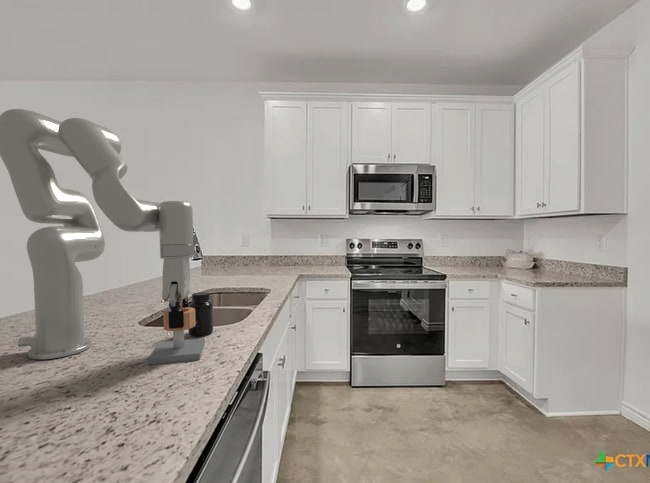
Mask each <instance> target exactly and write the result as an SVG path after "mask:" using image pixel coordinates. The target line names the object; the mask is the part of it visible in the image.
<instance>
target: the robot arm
mask: <svg viewBox="0 0 650 483" xmlns="http://www.w3.org/2000/svg"><path fill="white" fill-rule="evenodd" d="M119 138H120V137H119V136H118V135H117V134H116V133H115V132H114V131H113V130H111V129H108V128H107V127H105V126H102V125H100V124H97V123H95V122H94V121H93V122H92V121H90V120H88V119H85V118H81V117H70V118H67V119H65V120H63V121H60V120H57V119H55V118H52V117H50V116H47V115H44V114H41V113H39V112H36V111H32V110H27V109H23V108H12V109H7V110H5V111H3V112H2V113H0V158H1V160H2V162H3V164H4V166H5V168H6V169H7V171H8V174H9V176H10V181H11V183H12V186H13V188H14V193H15V195H16V198H17V200H18V204H19V205H20V209H21V211H22V213H23V215H24V216H25V218H26V219H27V220H29V221H31V222H32V223H38V224H50V225H51V224H54V225H55V224H56V225H59V224H60V226H47V227H41V228H39V229H37V230H34V232H33V233H31V234H30V235H29V237H28V238H27V242H26V250H27V255H28V256H27V257H28V259H29V262H30V265H31V272H32V277H33V292H34V294H33V295H34V319H35V321H34V322H35V324H34V325H35V335H33V336H29V335H28V336H20V337H19V338H18V343H17V345H18V347H19V348H20V347H29V348H30V349H29V350H28V352H27V357H28V358H29V359H32V360H50V359H58V358H63V357H64V358H65V357H68V356H72V355H76V354H78V353H81V352H84V351H86V350H88V349H90V348H91V346H92V343H93V342H92V341H93V340H92V339H91V338H87V337H85V321H84V320H85V319H84V318H85V316H84V288H83V277H82V274H81V272H80V270H79V268H78V266H77V265H76V263H81V262H89V261H93V260H96V259H98V258H99V257H101V255H102V254H104V251H105V246H106V243H105V237H104V233H103V231H102V227H101V225H100V222H99V219H98V216H97V213H96V211H95V208H94V206H93V203H92V201H91V200H90V199H89V198H88V196H86V195H85V194H84V193H83V192H81V191H78V190H74V189H69V188H64V187H61V185H60V184H59V183H58V179H57V177H56V175H55V171H54V169H53V167H52V165H51V164H50V163H49V161H48V160H47V159H46V158H45V157H44V156H43V155H42V153H41V152H40V151H39V150H41V151H45V152H50V153H53V154H56V155H57V154H58V155H61V156H65V157H73V158H74V159H75V160H76V161H77V162H78V164H79V165H80V166H81V168H82V169H83V170H84V171H85V172H86V173H87V175H88V176H89V178H90V179H91V180H92V182H91V189H92V195H93V199H94V202H95V203H96V205H97V207H99V209H100V210H101V211H102V213H103V214H104V216H106V218H108V220H109V221H110V222H111V223H112V224H113V225H114V226H115V227H117V228H118V229H119V230H122V231H125V232H129V233H130V232H131V233H135V232H136V233H137V232H138V233H139V232H143V233H145V232H147V233H148V232H149V233H151V232H152V233H154V232H159V250H160V251H159V253H160V254H159V255H160V259H162V260H163V264H162V294H161V295H162V300H163V301H167V300H168V310H169V312H168V314H169V328H170V329H174V328H183V327H184V310H182V308H183V307H189V305H190V303H189V296H188V295H189V294H190V292H191V270H190V269H191V268H190V266H191V265H190V264H191V263H190V259H191V258H195V253H194V252H195V251H194V250H195V249H194V248H195V247H194V218H193V215H194V214H193V206H192V204H191V203H190V202H189V201H184V200H165V201H162V202H156V201H155V202H154V201H148V200H142V199H135V198H134V197H133V196H132V195H131V194H130V192H129V191H128V190H127V188H125V186H124V185H123V183H122V181H121V179H122V178H123V177H125V175H126V173H127V172H128V164H127V162H126V161H125V159H123V157H122V156H121V155H120V154H121V152H122V151H121V150H122V143H121V140H120V139H119ZM61 225H63V226H61Z"/></svg>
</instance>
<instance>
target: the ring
mask: <svg viewBox="0 0 650 483" xmlns="http://www.w3.org/2000/svg"><path fill="white" fill-rule="evenodd" d="M182 310H184V327H183V328H174V329H170V328H169V314H168V312H169V309H167V310H165V311H163V320H162V321H163V330H164V331H167V332H173V331H181V330H184V331H185V330H188V329H190V328H192V327H194V326H195V325H196V323H195V309H194V308H191V307H183V308H182Z"/></svg>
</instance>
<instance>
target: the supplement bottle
mask: <svg viewBox="0 0 650 483" xmlns="http://www.w3.org/2000/svg"><path fill="white" fill-rule="evenodd" d="M210 299H211V298H210V292H208V291H207V292H206V291H200V292H198V291H197V292H194V293H192V294H191V301H192V302H190V303H189V307H191V308H194V309H195V323H196V325H195V326H194V327H192V328H190V329H187V330H188V335H189V336H190V337H193V338H200V337H206V336H210V335H211V334H212V333H213V332H214V304H213V303H212V301H210Z"/></svg>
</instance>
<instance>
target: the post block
mask: <svg viewBox="0 0 650 483" xmlns="http://www.w3.org/2000/svg"><path fill="white" fill-rule="evenodd" d="M172 332H173V333H172V337H173V338H172V339H173V340H167V341H160V342H159V343H158V344H157V346H155V348H154V350H153V351H152V353H151V354H150V355H149V357H148V360H147V361H148V362H147V363H148V364H147V365H148V366H149V365H150V366H151V365H159V364H160V365H161V364H168V363H169V364H170V363H179V362H188V361H189V362H191V361H198V360H201V358H202V354H203V351H204V347H205V345H206V339H205V338H191V339H190V338H189V339H185V330H181V331H172Z"/></svg>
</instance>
